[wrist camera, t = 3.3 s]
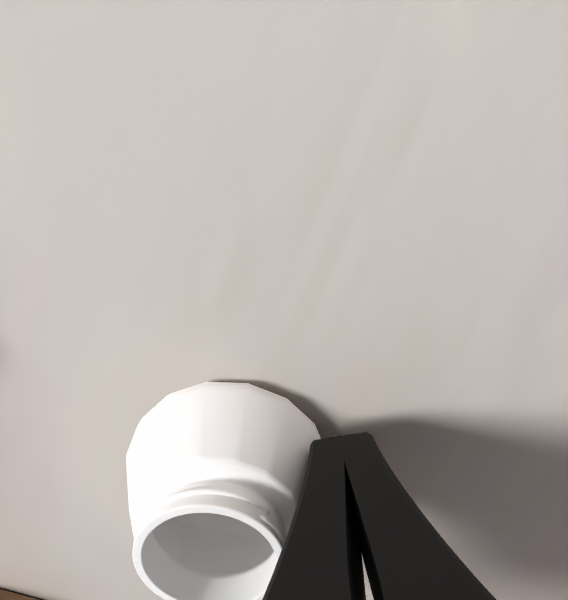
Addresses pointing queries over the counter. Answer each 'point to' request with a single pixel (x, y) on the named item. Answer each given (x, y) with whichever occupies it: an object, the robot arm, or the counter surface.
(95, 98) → the counter surface
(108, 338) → the counter surface
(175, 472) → the white jar
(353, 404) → the counter surface
